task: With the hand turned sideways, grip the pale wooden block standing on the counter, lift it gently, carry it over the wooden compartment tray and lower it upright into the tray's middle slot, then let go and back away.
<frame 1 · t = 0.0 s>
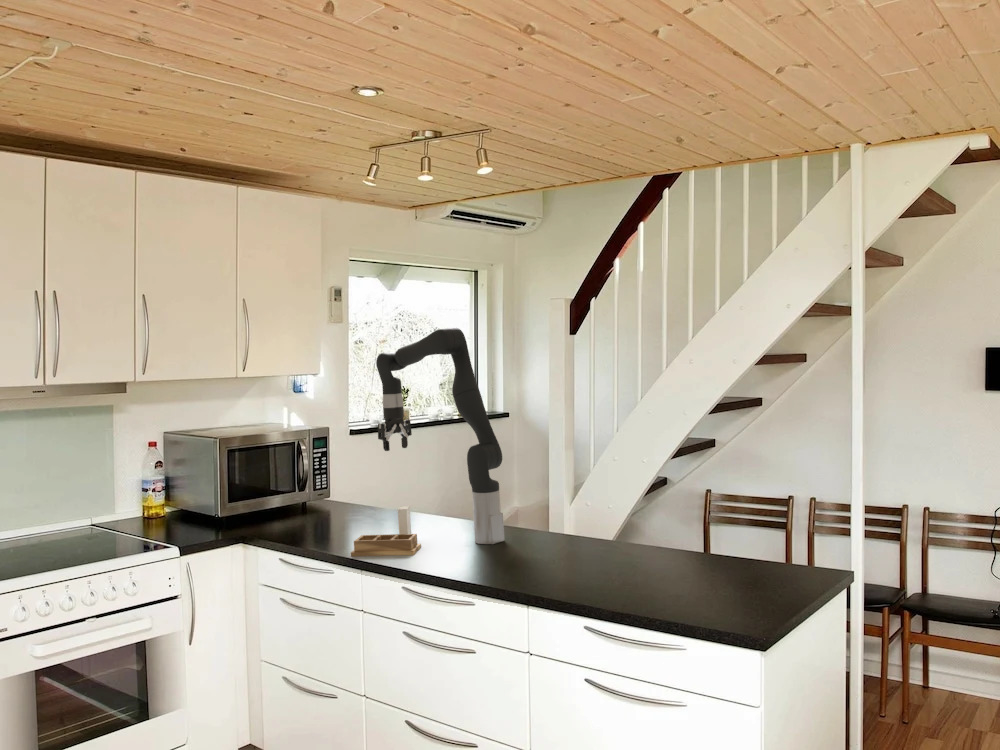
hand: (395, 449, 320), 29 cm above the worktop, fingers open, 8 cm apart
pale wooden block: (405, 542, 295), on the worktop
wooden compartment tray: (386, 551, 283), on the worktop
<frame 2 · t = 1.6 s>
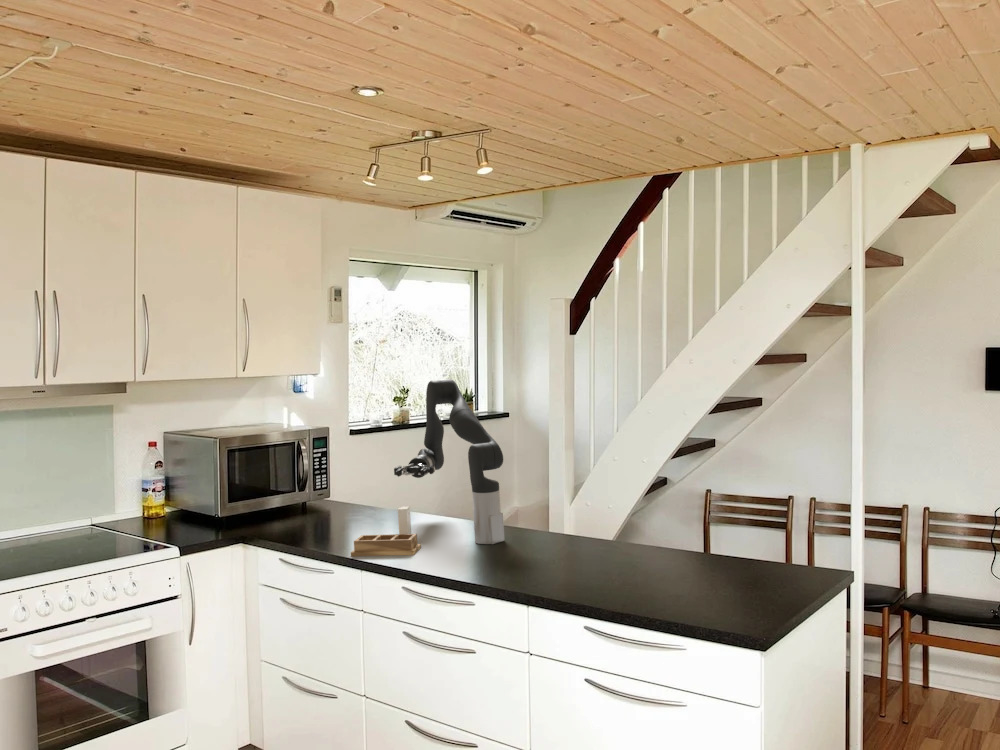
hand: (409, 473, 305), 22 cm above the worktop, fingers open, 8 cm apart
nothing on the worktop moved.
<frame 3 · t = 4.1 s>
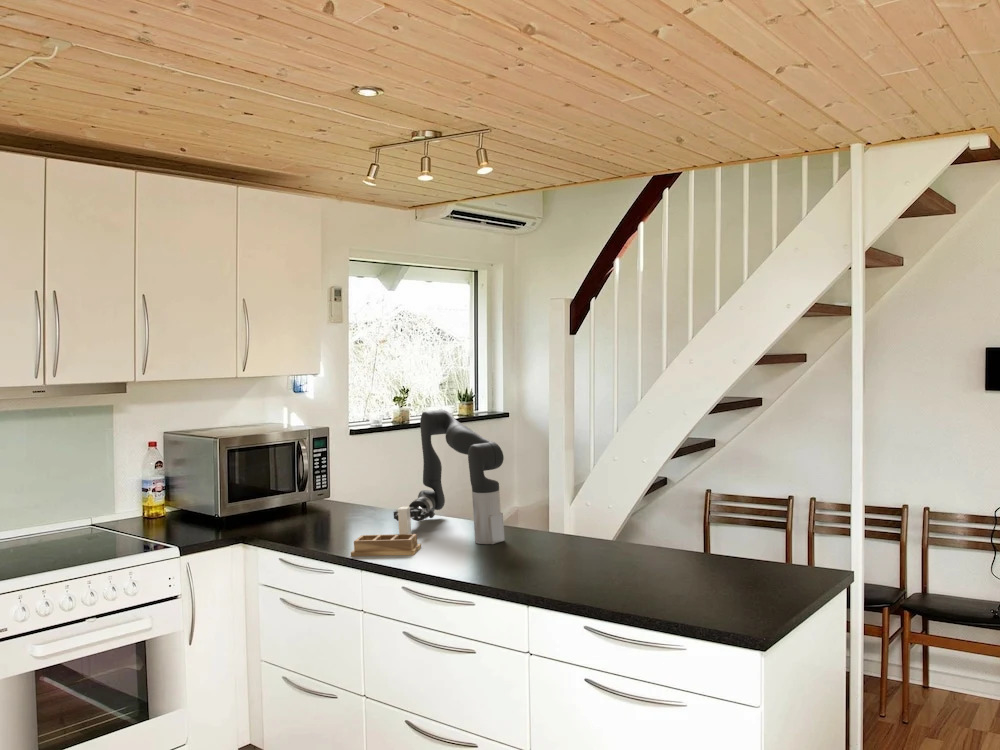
hand: (409, 517, 301), 7 cm above the worktop, fingers open, 8 cm apart
nothing on the worktop moved.
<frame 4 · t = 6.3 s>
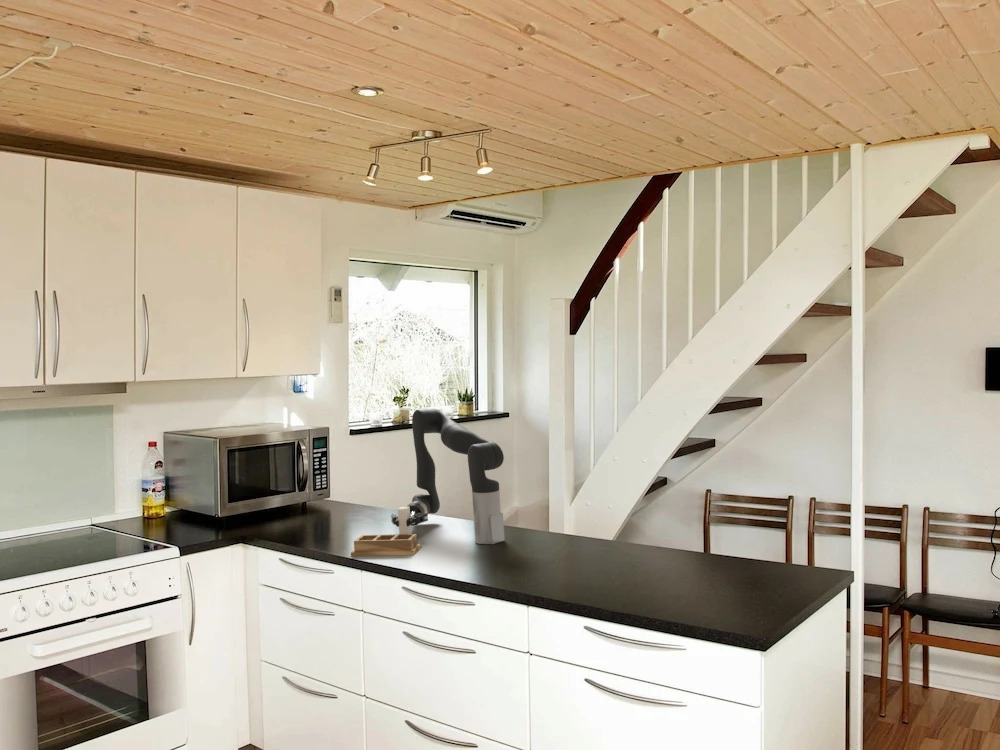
hand: (402, 523, 292), 7 cm above the worktop, fingers closed on pale wooden block, 3 cm apart
pale wooden block: (405, 542, 295), on the worktop, touching gripper
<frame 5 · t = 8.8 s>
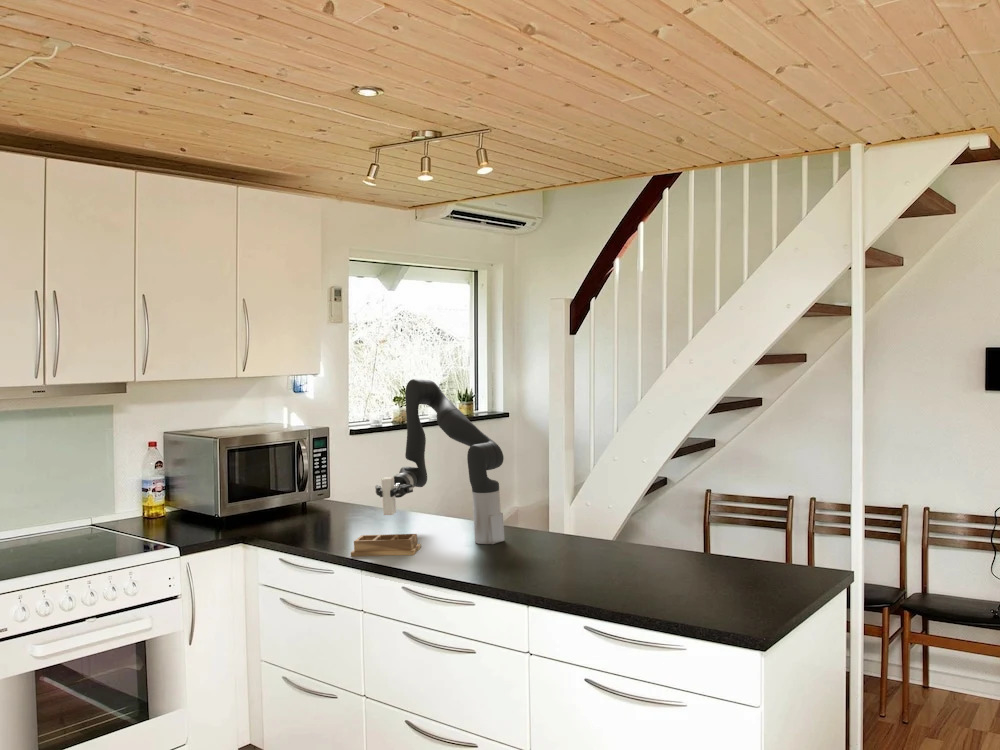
hand: (386, 493, 284), 19 cm above the worktop, fingers closed on pale wooden block, 3 cm apart
pale wooden block: (390, 513, 287), point 12 cm above the worktop, touching gripper
when the fingers open (10 cm above the worktop, at t = 11.5 s): pale wooden block drops 2 cm, resting on wooden compartment tray.
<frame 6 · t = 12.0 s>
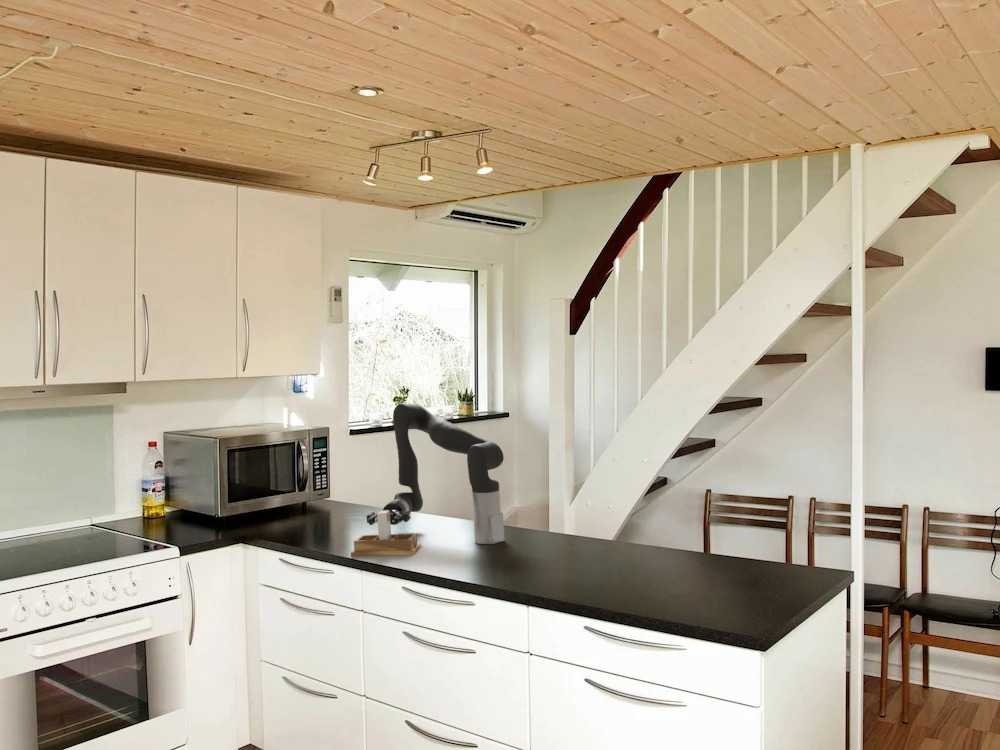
hand: (382, 521, 281), 10 cm above the worktop, fingers open, 8 cm apart
pale wooden block: (385, 548, 283), point 1 cm above the worktop, touching wooden compartment tray
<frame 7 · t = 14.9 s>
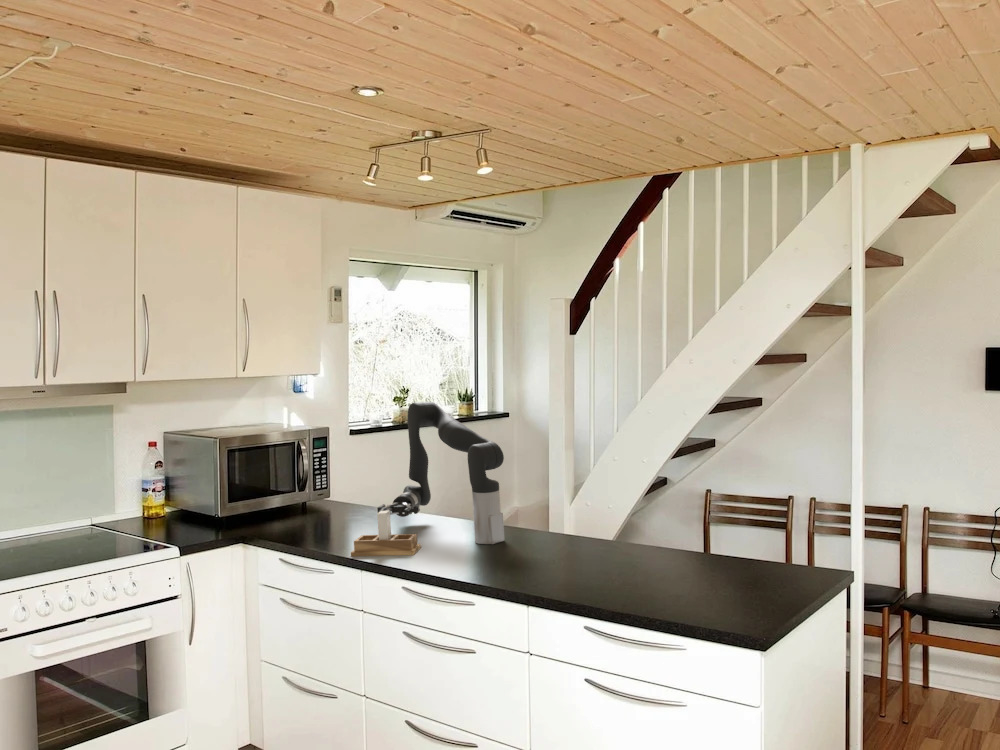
hand: (393, 513, 294), 10 cm above the worktop, fingers open, 8 cm apart
nothing on the worktop moved.
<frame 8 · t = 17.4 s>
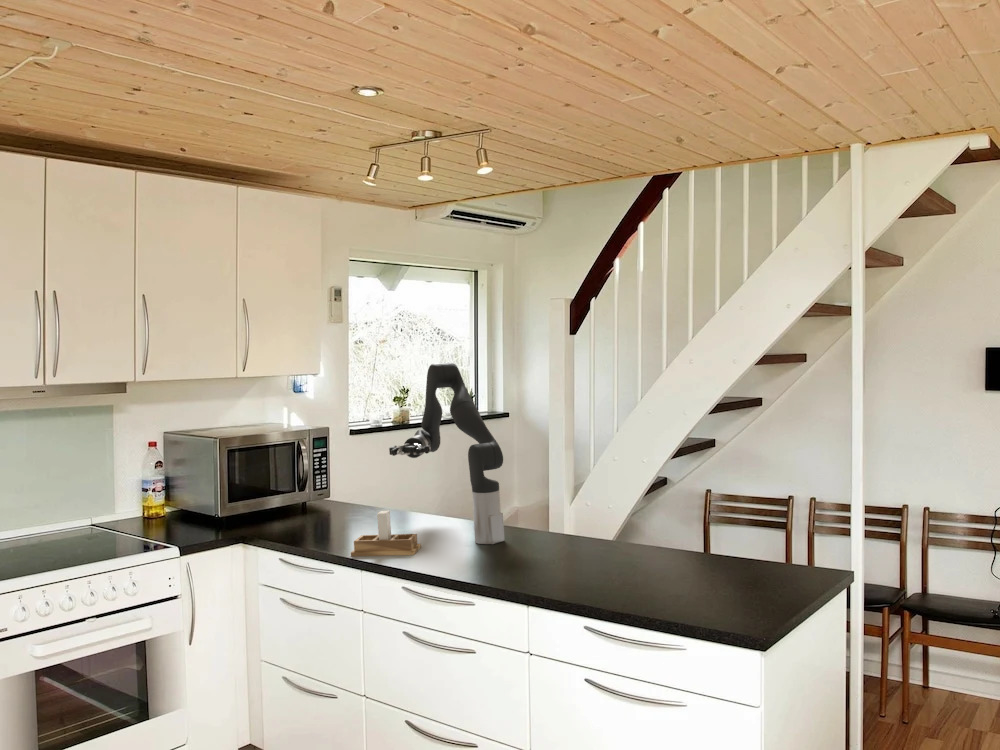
hand: (405, 452, 302), 30 cm above the worktop, fingers open, 8 cm apart
nothing on the worktop moved.
at the end: pale wooden block 0.1 cm off-centre on the wooden compartment tray, point 1.2 cm above the wooden compartment tray's base; pale wooden block tilted 0°; the gripper is holding nothing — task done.
